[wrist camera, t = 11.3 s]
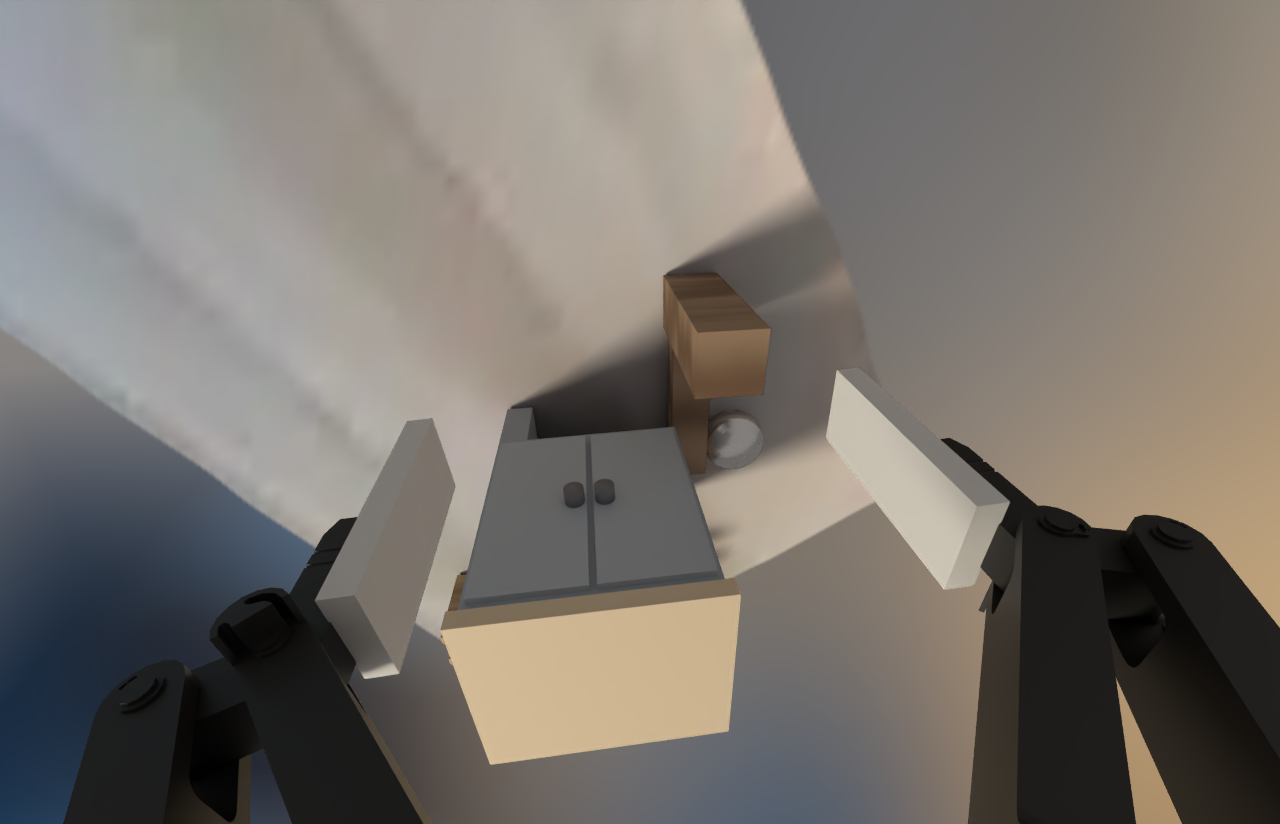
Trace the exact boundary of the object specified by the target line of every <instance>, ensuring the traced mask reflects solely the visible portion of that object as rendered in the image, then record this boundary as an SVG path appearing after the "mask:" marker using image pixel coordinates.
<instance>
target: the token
mask: <svg viewBox="0 0 1280 824" xmlns="http://www.w3.org/2000/svg"><path fill="white" fill-rule="evenodd" d="M763 443H764V438H763V434H762V432H761V430H760V429H759V427H758V425H757V424H756V422H755V420H754V419H753V418H752V417H751V416H750V415H749V414H747V413H745V412H742V411H736V410H733V411H726V412H723V413H721V414H719V415H717V416H715V417H714V418H713V419H712V420H711V421H710V422H709V423H708V437H707V453H708V456H709V458H710V459H711V461H712V462H713V463H714V464H716V465H717V466H719V467H722V468H726V469H736V468H740V467H743V466H746V465H748V464H749V463H751V462H752V461H753V460H755V459H756V458H757V456H758V455H759V454H760V452H761V450H762V448H763Z"/></svg>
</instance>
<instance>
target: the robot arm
mask: <svg viewBox="0 0 1280 824" xmlns="http://www.w3.org/2000/svg"><path fill="white" fill-rule="evenodd" d="M826 439H827V440H828V441H829V443H830V444H831V445H832V447H833V448H834V449H835V450H836V452H837V453H838V454H839V456H840V457H841V458H842V459H843V461H844V462H845V463H846V465H847V466H848V467H849V468H850V470H851V471H852V472H853V473H854V475H855V476H856V477H857V479H858V480H859V481H860V482H861V484H862V485H863V486H864V488H865V489H866V490H867V491H868V493H869V494H870V495H871V497H872V498H873V499H874V500H875V502H876V503H877V504H878V506H879V507H880V508H881V509H882V511H883V512H884V513H885V515H886V516H887V517H888V518H889V520H890V521H891V522H892V523H893V525H894V526H895V527H896V529H897V530H898V531H899V532H900V534H901V535H902V536H903V538H904V539H905V540H906V541H907V543H908V544H909V545H910V546H911V548H912V549H913V550H914V552H915V553H916V554H917V556H918V557H919V558H920V559H921V561H922V562H923V563H924V564H925V566H926V567H927V568H928V570H929V571H930V572H931V573H932V575H933V576H934V577H935V579H936V580H937V581H938V582H939V584H940V585H941V586H942V587H943V589H944V590H946V589H953V588H960V587H966V586H972V585H974V583H975V581H976V579H977V577H978V574H979V572H980V570H981V568H982V569H983V571H984V572H985V573H986V574H987V575H988V576H989V577H990V578H991V579H992V583H991V585H990V587H989V589H988V591H987V593H986V595H985V598H984V600H983V602H982V604H981V606H980V608H979V611H981V612H984V611H985V609H986V619H985V630H984V642H983V654H982V665H981V677H980V689H979V701H978V712H977V725H976V736H975V747H974V760H973V771H972V783H971V794H970V806H969V819H968V824H1136V820H1135V813H1134V806H1133V798H1132V791H1131V784H1130V777H1129V770H1128V762H1127V756H1126V748H1125V740H1124V734H1123V727H1122V719H1121V712H1120V704H1119V697H1118V690H1117V683H1116V678H1117V681H1118V683H1119V685H1120V687H1121V689H1122V692H1123V694H1124V696H1125V698H1126V700H1127V703H1128V705H1129V707H1130V709H1131V712H1132V713H1133V716H1134V718H1135V720H1136V723H1137V724H1138V727H1139V729H1140V731H1141V734H1142V736H1143V738H1144V740H1145V743H1146V745H1147V747H1148V749H1149V751H1150V754H1151V756H1152V758H1153V760H1154V762H1155V765H1156V767H1157V769H1158V771H1159V774H1160V776H1161V778H1162V780H1163V782H1164V785H1165V787H1166V789H1167V791H1168V793H1169V796H1170V798H1171V800H1172V802H1173V804H1174V807H1175V809H1176V811H1177V813H1178V816H1179V818H1180V820H1181V822H1182V824H1280V628H1279V626H1278V625H1277V624H1276V623H1275V621H1274V620H1273V619H1272V618H1271V616H1270V615H1269V614H1268V613H1267V611H1266V610H1265V609H1264V608H1263V606H1262V605H1261V604H1260V602H1258V600H1257V599H1256V597H1255V596H1254V595H1253V594H1252V593H1251V591H1250V590H1249V589H1248V587H1247V586H1246V585H1245V584H1244V582H1243V581H1242V580H1241V579H1240V578H1239V576H1238V575H1237V574H1236V572H1235V571H1234V570H1233V569H1232V568H1231V566H1230V565H1229V564H1228V562H1227V561H1226V560H1225V558H1223V556H1222V555H1221V554H1220V552H1219V551H1218V550H1217V548H1216V547H1215V546H1214V545H1213V543H1212V542H1211V541H1209V540H1208V539H1207V538H1206V537H1205V536H1204V535H1203V534H1202V533H1200V532H1198V531H1197V530H1195V529H1193V528H1192V527H1190V526H1188V525H1186V524H1184V523H1182V522H1178V521H1176V520H1173V519H1170V518H1166V517H1161V516H1157V515H1142V516H1138V517H1135V518H1134V519H1133V521H1132V522H1131V524H1130V526H1129V527H1128V528H1127V530H1126V531H1122V530H1112V529H1102V528H1091V527H1090V526H1089V525H1088V524H1087V523H1086V522H1085V521H1084V520H1082V519H1081V518H1079V517H1077V516H1076V515H1074V514H1072V513H1070V512H1067V511H1065V510H1062V509H1059V508H1055V507H1050V506H1037V505H1036V504H1035V503H1033V501H1031V500H1030V499H1029V498H1028V497H1027V496H1025V495H1024V494H1023V493H1022V492H1021V491H1020V490H1018V489H1017V488H1016V487H1015V486H1014V485H1012V484H1011V483H1010V482H1009V481H1008V480H1007V479H1005V478H1004V477H1003V476H1002V475H1001V474H999V473H998V472H995V471H994V468H992V467H991V466H990V465H989V464H988V463H986V462H983V459H982V458H981V457H979V456H978V455H977V454H976V453H975V452H974V451H972V450H971V449H970V448H969V447H967V446H965V445H962V444H961V443H959V442H957V441H955V440H953V439H951V438H945V439H939V438H938V437H937V436H936V435H935V434H933V433H932V432H931V431H930V430H929V429H928V428H927V427H926V426H925V425H923V424H922V423H921V422H920V421H919V420H918V419H917V418H916V417H914V416H913V415H912V414H911V413H910V412H909V411H907V409H905V408H904V407H903V406H902V405H901V404H900V403H899V402H898V401H896V400H895V399H894V398H893V397H892V396H891V395H890V394H889V393H888V392H886V391H885V390H884V389H883V388H882V387H881V386H880V385H879V384H877V383H876V382H875V381H874V380H873V379H872V378H871V377H870V376H868V375H867V374H866V373H865V372H864V371H863V370H862V369H861V368H859V367H857V368H848V369H840V370H837V372H836V378H835V385H834V391H833V397H832V403H831V409H830V416H829V422H828V428H827V434H826ZM454 490H455V483H454V480H453V477H452V474H451V471H450V468H449V465H448V462H447V460H446V457H445V454H444V451H443V448H442V445H441V442H440V439H439V436H438V433H437V430H436V428H435V425H434V422H433V419H432V418H430V419H422V420H413V421H407V423H406V425H405V427H404V428H403V430H402V432H401V434H400V436H399V438H398V440H397V442H396V444H395V446H394V448H393V450H392V452H391V454H390V456H389V458H388V459H387V461H386V463H385V465H384V467H383V469H382V471H381V473H380V475H379V477H378V479H377V481H376V483H375V485H374V487H373V489H372V490H371V492H370V494H369V496H368V498H367V500H366V502H365V504H364V506H363V508H362V510H361V512H360V514H359V516H358V517H354V518H347V519H340V520H339V521H338V522H337V523H336V524H335V525H334V526H333V527H331V528H330V529H329V530H328V531H327V532H326V533H325V534H324V535H323V537H322V539H321V540H320V542H319V544H318V546H317V547H316V549H315V551H314V554H313V555H312V556H311V558H310V560H309V561H308V563H307V568H304V570H303V572H302V573H301V575H300V577H299V579H298V580H297V582H296V584H295V586H294V587H293V589H292V591H291V593H290V594H288V593H287V592H286V591H284V590H283V589H281V588H267V589H263V590H258V591H255V592H253V593H251V594H249V595H246V596H245V597H242V598H241V599H239V600H238V601H236V602H235V603H233V604H232V605H230V606H229V607H228V608H227V609H226V610H225V611H224V612H223V613H222V614H221V615H220V616H219V617H218V618H217V619H216V621H215V623H214V624H213V626H212V628H211V630H210V641H211V642H212V643H213V644H214V645H215V647H216V648H217V649H218V650H219V651H220V652H221V653H222V655H223V656H224V658H221V659H219V660H216V661H214V662H211V663H209V664H206V665H204V666H201V667H198V668H196V669H194V670H191V671H189V670H188V668H187V667H186V666H185V665H184V664H182V663H180V662H178V661H177V660H164V661H160V662H157V663H154V664H151V665H148V666H146V667H144V668H143V669H141V670H139V671H137V672H135V673H133V674H132V675H130V676H129V677H128V678H126V679H125V680H124V681H122V682H121V683H120V684H119V685H117V686H116V687H115V688H114V689H113V690H112V691H111V692H110V693H109V694H108V695H107V697H106V698H105V699H104V700H103V701H102V703H101V704H100V706H99V708H98V710H97V712H96V714H95V717H94V720H93V723H92V727H91V730H90V734H89V737H88V741H87V744H86V748H85V751H84V755H83V758H82V761H81V765H80V768H79V772H78V775H77V779H76V782H75V785H74V789H73V792H72V796H71V799H70V802H69V806H68V810H67V813H66V816H65V820H64V823H63V824H249V823H250V781H251V754H252V753H254V752H256V751H258V750H261V749H263V748H264V751H265V753H266V756H267V759H268V761H269V764H270V767H271V769H272V772H273V774H274V777H275V780H276V782H277V785H278V788H279V790H280V793H281V795H282V798H283V801H284V803H285V806H286V809H287V811H288V814H289V817H290V819H291V822H292V824H432V822H431V820H430V819H429V817H428V815H427V814H426V812H425V810H424V808H423V807H422V805H421V803H420V802H419V800H418V798H417V797H416V795H415V794H414V791H413V790H412V788H411V786H410V785H409V783H408V781H407V780H406V778H405V776H404V774H403V773H402V771H401V769H400V768H399V766H398V764H397V763H396V761H395V759H394V758H393V756H392V754H391V752H390V751H389V749H388V747H387V746H386V744H385V742H384V740H383V739H382V737H381V735H380V734H379V732H378V730H377V729H376V727H375V725H374V724H373V722H372V720H371V718H370V717H369V715H368V713H367V712H366V710H365V708H364V706H363V705H362V703H361V701H360V700H359V698H358V697H357V695H356V693H355V691H354V689H353V688H352V686H351V685H350V683H349V680H350V678H351V675H352V672H353V670H354V667H355V665H356V666H357V667H358V669H359V671H360V672H361V674H362V675H363V677H364V678H365V679H367V678H374V677H381V676H387V675H393V674H399V673H400V669H401V667H402V663H403V660H404V656H405V653H406V650H407V647H408V643H409V640H410V636H411V633H412V630H413V627H414V623H415V620H416V616H417V613H418V610H419V606H420V603H421V600H422V596H423V593H424V590H425V586H426V583H427V580H428V576H429V573H430V570H431V566H432V563H433V560H434V556H435V553H436V550H437V546H438V543H439V540H440V536H441V533H442V530H443V526H444V523H445V520H446V516H447V513H448V510H449V506H450V503H451V500H452V496H453V493H454Z"/></svg>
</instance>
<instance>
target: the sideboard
mask: <svg viewBox="0 0 1280 824" xmlns="http://www.w3.org/2000/svg"><path fill="white" fill-rule="evenodd" d="M740 599H741V593H740V591H739V588H738V585H737V582H736V579H735V578H729V579H725V578H724V575H723V572H722V569H721V566H720V563H719V560H718V557H717V554H716V551H715V548H714V545H713V542H712V539H711V536H710V533H709V530H708V526H707V523H706V520H705V517H704V514H703V511H702V508H701V505H700V502H699V499H698V496H697V493H696V490H695V487H694V484H693V481H692V478H691V475H690V472H689V469H688V466H687V463H686V460H685V457H684V454H683V451H682V448H681V445H680V441H679V438H678V435H677V432H676V429H675V427H664V428H653V429H642V430H632V431H621V432H610V433H599V434H588V435H577V436H567V437H556V438H545V439H538V438H537V432H536V426H535V421H534V415H533V409H532V407H530V408H519V409H508V410H507V414H506V418H505V422H504V426H503V430H502V434H501V438H500V442H499V446H498V450H497V454H496V458H495V462H494V466H493V470H492V474H491V478H490V482H489V486H488V490H487V494H486V498H485V502H484V506H483V510H482V515H481V519H480V523H479V527H478V531H477V535H476V539H475V543H474V547H473V551H472V555H471V559H470V563H469V567H468V571H467V575H466V579H465V583H464V587H463V591H462V595H461V599H460V603H459V607H458V610H455V611H447V612H445V615H444V619H443V623H442V626H441V630H440V631H441V633H442V636H443V639H444V641H445V644H446V647H447V650H448V652H449V655H450V658H451V660H452V663H453V666H454V668H455V671H456V674H457V676H458V679H459V682H460V684H461V687H462V690H463V693H464V695H465V698H466V701H467V703H468V706H469V709H470V711H471V714H472V717H473V719H474V722H475V725H476V727H477V730H478V733H479V736H480V738H481V741H482V744H483V746H484V749H485V752H486V754H487V757H488V760H489V763H490V765H492V764H499V763H506V762H514V761H520V760H528V759H535V758H542V757H549V756H556V755H563V754H570V753H577V752H585V751H592V750H598V749H606V748H613V747H620V746H627V745H634V744H641V743H649V742H655V741H662V740H669V739H677V738H684V737H691V736H698V735H705V734H712V733H720V732H727V731H729V719H730V708H731V698H732V687H733V676H734V665H735V654H736V642H737V632H738V621H739V610H740Z"/></svg>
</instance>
